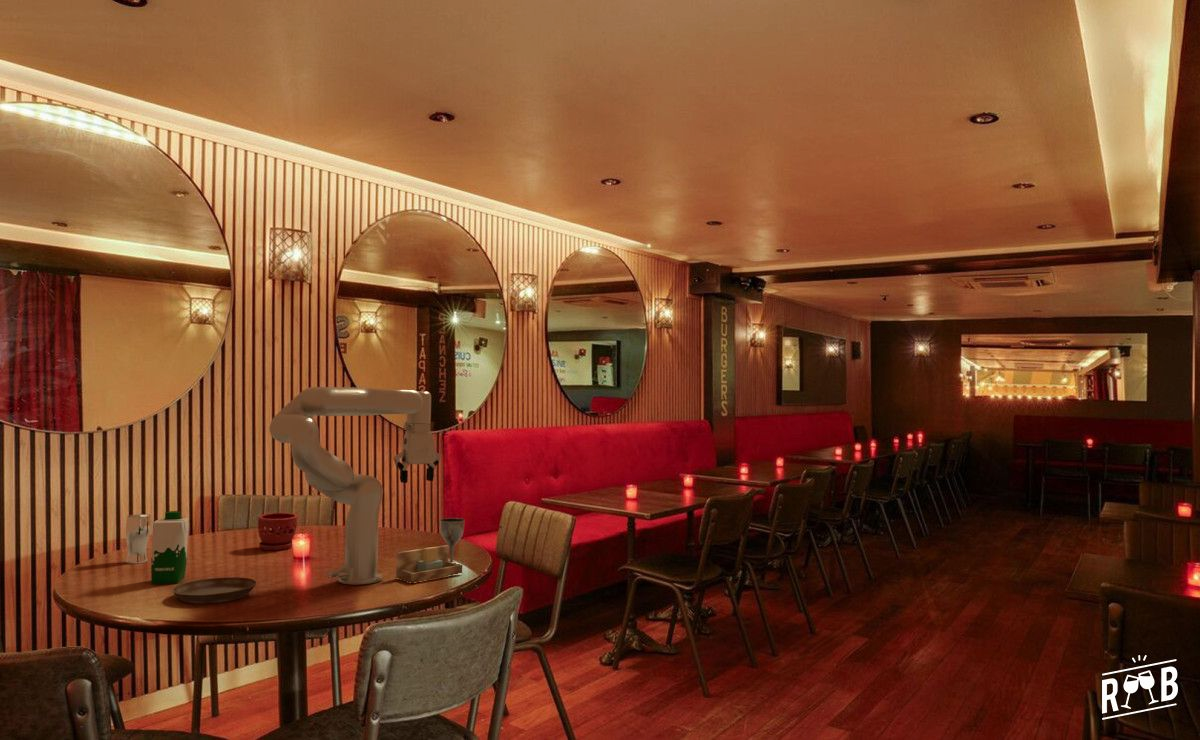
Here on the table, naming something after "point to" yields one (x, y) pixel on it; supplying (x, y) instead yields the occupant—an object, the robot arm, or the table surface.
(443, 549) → the board
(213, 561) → the table surface
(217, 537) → the table surface
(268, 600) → the table surface
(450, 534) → the wine glass
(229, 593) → the plant saucer
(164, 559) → the milk carton
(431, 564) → the grey square block
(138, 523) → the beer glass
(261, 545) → the plant pot
